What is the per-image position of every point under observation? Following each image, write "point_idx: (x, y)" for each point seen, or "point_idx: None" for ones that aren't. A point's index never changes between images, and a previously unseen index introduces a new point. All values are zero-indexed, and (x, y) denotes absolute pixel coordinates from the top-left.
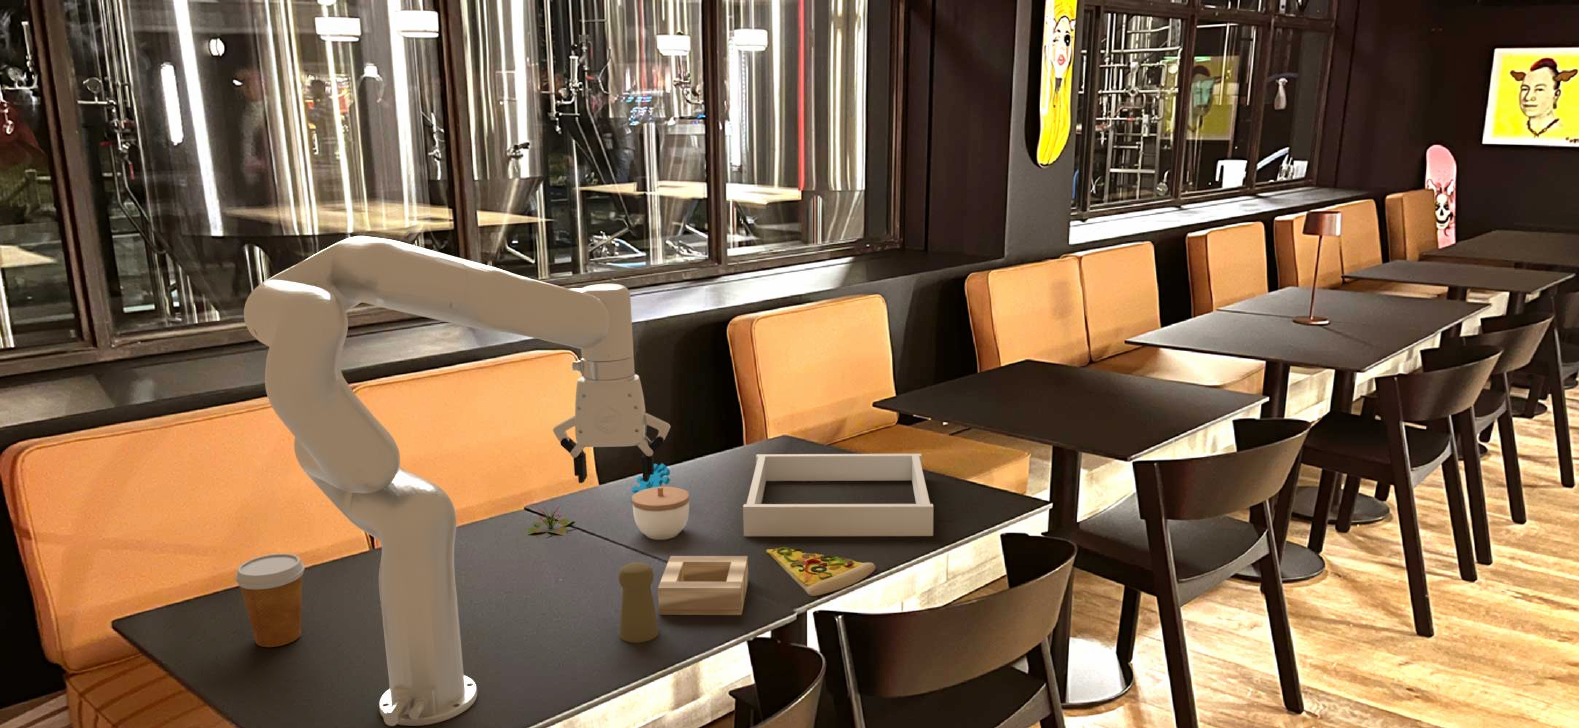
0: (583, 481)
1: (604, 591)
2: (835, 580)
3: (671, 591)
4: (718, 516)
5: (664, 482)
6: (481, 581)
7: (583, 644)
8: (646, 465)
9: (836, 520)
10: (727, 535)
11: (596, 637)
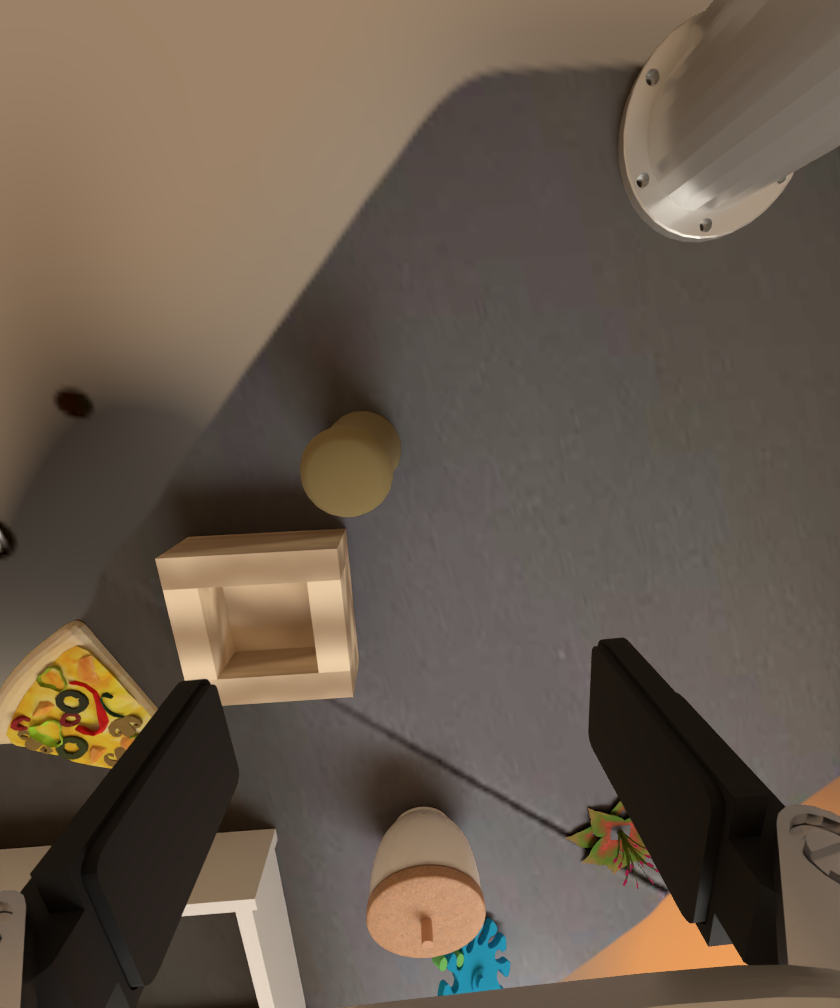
0: (595, 647)
1: (471, 614)
2: (26, 662)
3: (309, 547)
4: (342, 897)
5: (446, 984)
6: (701, 637)
7: (458, 398)
8: (105, 781)
9: None
10: (307, 834)
11: (441, 429)
